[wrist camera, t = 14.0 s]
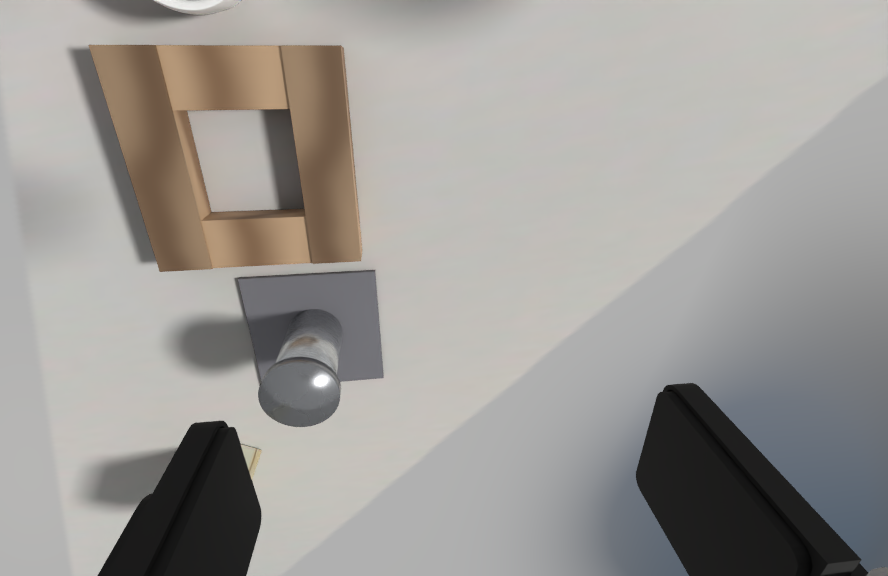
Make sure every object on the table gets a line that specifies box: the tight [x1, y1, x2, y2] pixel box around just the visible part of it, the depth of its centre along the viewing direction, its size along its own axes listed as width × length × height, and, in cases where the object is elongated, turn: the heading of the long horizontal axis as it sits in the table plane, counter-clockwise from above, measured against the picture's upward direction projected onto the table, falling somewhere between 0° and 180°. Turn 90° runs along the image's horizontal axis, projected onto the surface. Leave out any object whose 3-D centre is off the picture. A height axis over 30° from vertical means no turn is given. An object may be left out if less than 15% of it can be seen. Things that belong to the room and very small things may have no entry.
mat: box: [238, 270, 383, 382], centre depth 42 cm, size 12×12×1 cm
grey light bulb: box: [258, 309, 343, 427], centre depth 38 cm, size 6×6×10 cm
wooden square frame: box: [89, 45, 362, 272], centre depth 34 cm, size 16×16×3 cm
